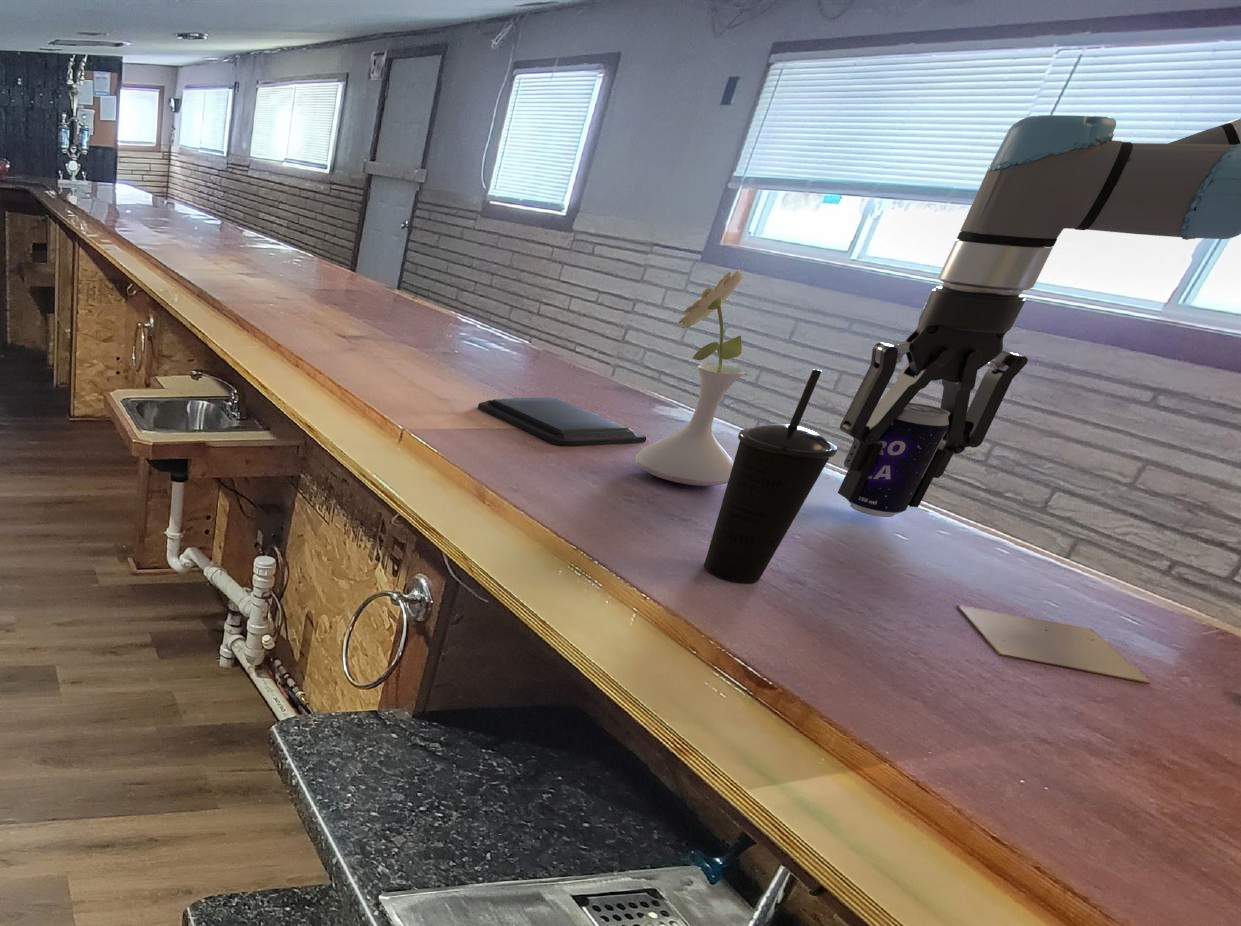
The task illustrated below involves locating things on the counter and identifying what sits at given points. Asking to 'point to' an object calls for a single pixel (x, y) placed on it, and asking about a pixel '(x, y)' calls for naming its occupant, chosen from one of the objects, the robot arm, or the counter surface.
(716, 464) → the flower in vase
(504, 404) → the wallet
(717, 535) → the drinking cup
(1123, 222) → the robot arm
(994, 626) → the cork pad
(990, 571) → the counter surface
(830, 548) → the counter surface
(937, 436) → the beverage can
